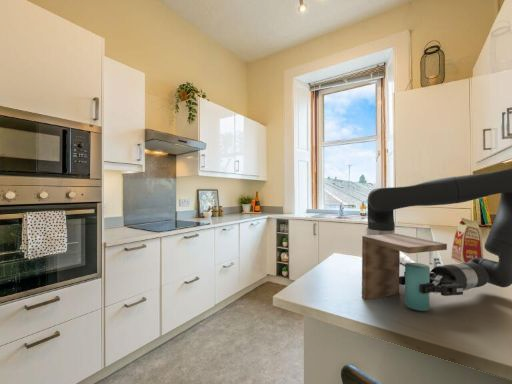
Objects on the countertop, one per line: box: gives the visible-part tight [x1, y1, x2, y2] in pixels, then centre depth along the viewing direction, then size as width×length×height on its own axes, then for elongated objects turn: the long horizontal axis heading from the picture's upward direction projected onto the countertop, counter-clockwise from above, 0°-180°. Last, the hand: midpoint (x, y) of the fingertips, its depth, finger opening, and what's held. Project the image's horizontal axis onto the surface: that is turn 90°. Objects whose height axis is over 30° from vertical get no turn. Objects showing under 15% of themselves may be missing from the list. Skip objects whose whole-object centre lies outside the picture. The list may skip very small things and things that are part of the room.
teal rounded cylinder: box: [404, 262, 431, 312], centre depth 68 cm, size 6×6×11 cm
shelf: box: [361, 233, 448, 300], centre depth 70 cm, size 13×16×18 cm
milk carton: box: [450, 217, 484, 264], centre depth 113 cm, size 9×9×20 cm
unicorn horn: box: [400, 251, 417, 266], centre depth 105 cm, size 5×24×5 cm, turn 177°
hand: (410, 285), depth 67 cm, fingers closed on teal rounded cylinder, 5 cm apart
